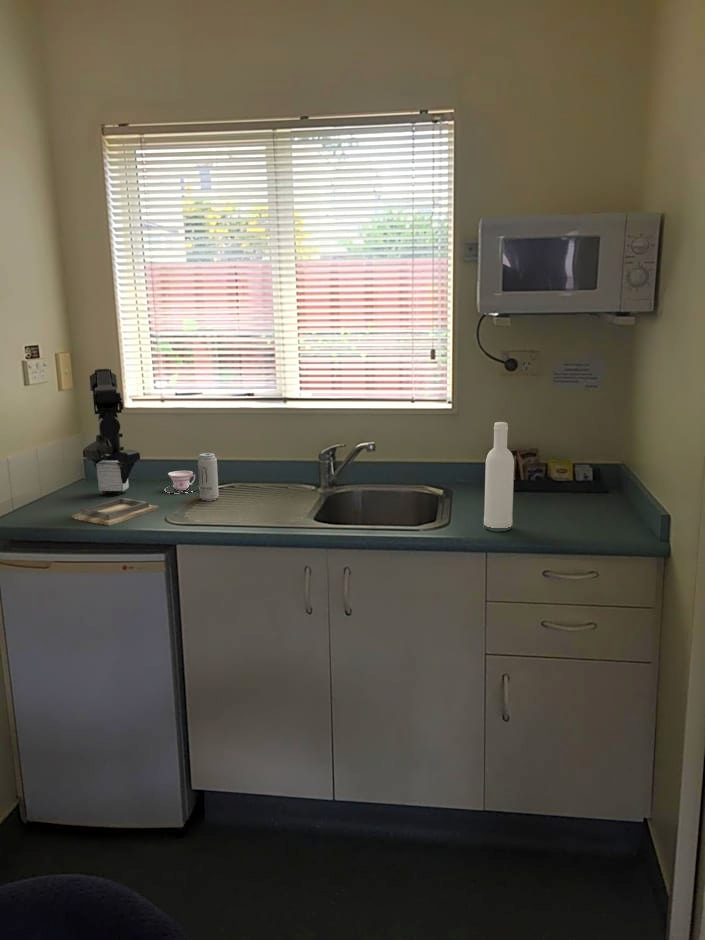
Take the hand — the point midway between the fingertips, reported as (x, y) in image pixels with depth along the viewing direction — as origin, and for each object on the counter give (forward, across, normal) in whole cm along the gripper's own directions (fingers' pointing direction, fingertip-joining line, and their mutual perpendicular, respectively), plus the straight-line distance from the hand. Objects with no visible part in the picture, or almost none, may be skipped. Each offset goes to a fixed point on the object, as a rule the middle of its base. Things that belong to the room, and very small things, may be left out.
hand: (113, 481), depth 233 cm
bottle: (+10, +108, +40) cm, 116 cm away
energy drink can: (+10, +14, +27) cm, 32 cm away
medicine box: (+3, 0, 0) cm, 3 cm away
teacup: (+11, -3, +32) cm, 34 cm away
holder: (+10, 0, 0) cm, 10 cm away
